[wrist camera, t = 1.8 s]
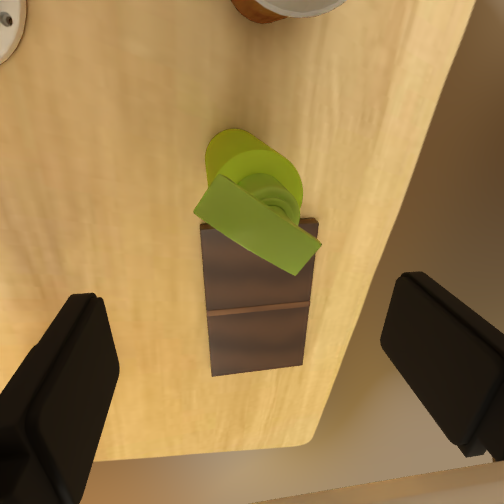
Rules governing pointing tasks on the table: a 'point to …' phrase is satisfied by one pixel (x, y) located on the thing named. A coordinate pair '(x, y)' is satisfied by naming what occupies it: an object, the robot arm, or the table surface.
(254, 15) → the disposable coffee cup
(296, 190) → the soap dispenser
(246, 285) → the walnut board
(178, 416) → the table surface
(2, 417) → the robot arm
